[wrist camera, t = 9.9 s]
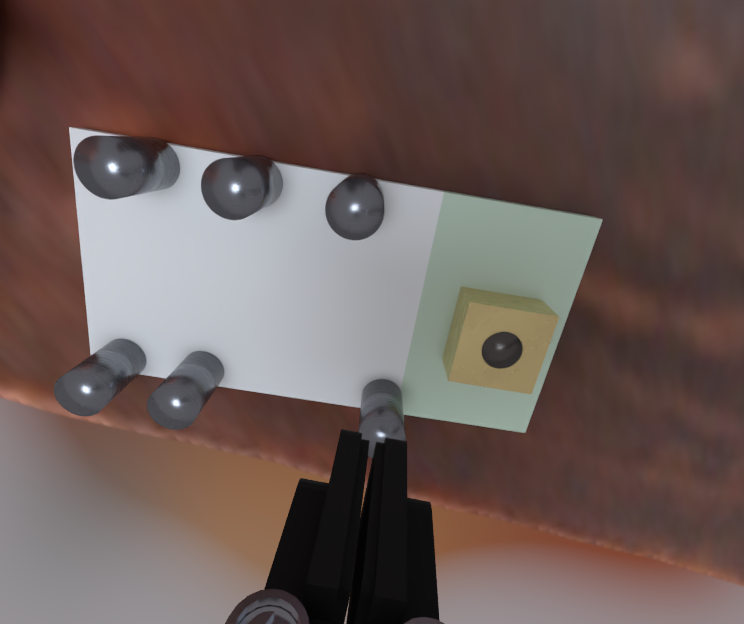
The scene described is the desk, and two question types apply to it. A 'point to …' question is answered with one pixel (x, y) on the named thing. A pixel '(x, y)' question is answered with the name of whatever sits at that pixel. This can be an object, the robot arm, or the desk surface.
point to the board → (321, 285)
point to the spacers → (233, 202)
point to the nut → (498, 340)
